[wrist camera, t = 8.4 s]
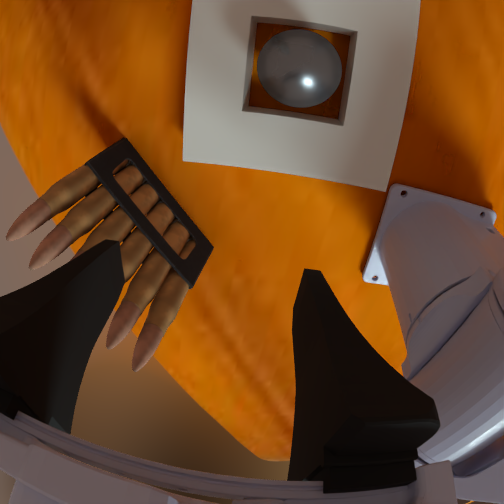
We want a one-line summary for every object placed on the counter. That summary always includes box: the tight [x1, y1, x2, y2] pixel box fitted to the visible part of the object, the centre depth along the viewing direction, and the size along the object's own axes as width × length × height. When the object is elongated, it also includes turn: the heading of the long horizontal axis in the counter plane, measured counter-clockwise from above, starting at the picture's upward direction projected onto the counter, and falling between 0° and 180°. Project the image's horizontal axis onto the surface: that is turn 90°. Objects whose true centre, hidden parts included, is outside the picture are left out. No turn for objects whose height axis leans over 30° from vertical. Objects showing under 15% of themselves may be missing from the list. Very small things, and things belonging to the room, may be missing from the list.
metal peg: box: [257, 29, 342, 108], centre depth 14 cm, size 4×4×6 cm
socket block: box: [183, 0, 421, 192], centre depth 15 cm, size 12×12×2 cm
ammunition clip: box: [6, 138, 214, 372], centre depth 17 cm, size 11×2×12 cm, turn 35°
